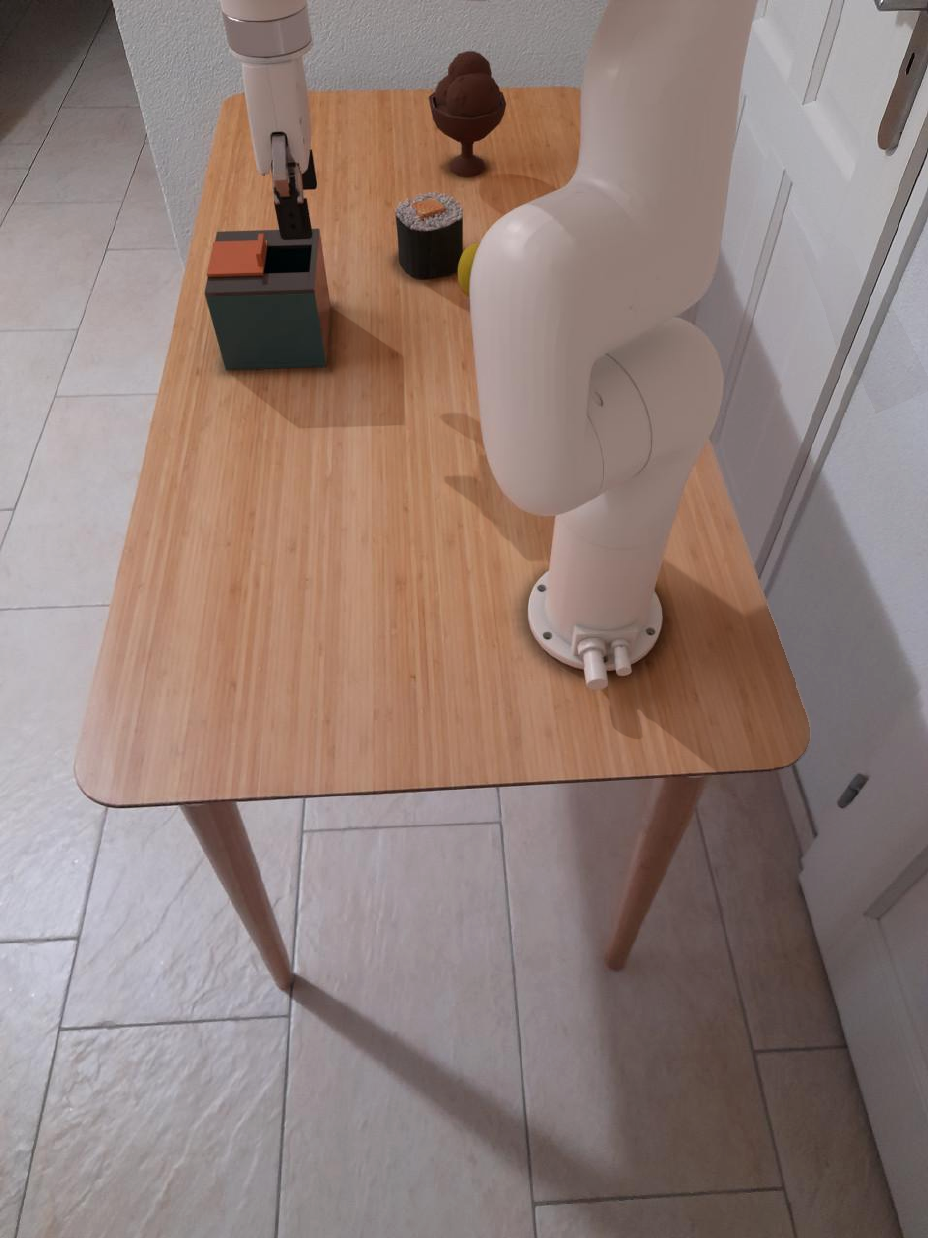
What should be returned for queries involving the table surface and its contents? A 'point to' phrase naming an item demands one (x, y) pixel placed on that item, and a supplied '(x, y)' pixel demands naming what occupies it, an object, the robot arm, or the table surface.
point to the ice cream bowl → (467, 108)
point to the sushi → (430, 235)
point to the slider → (238, 258)
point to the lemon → (466, 267)
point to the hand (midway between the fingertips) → (300, 212)
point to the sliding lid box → (273, 306)
